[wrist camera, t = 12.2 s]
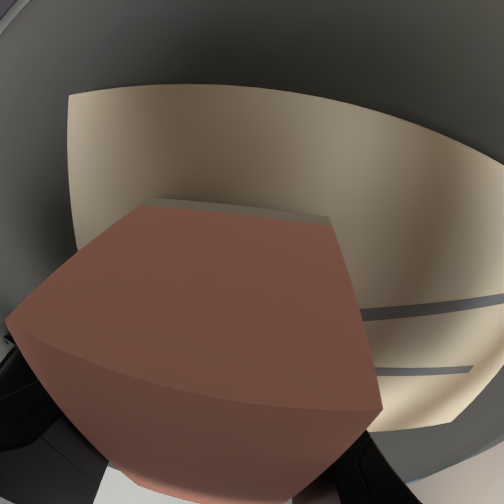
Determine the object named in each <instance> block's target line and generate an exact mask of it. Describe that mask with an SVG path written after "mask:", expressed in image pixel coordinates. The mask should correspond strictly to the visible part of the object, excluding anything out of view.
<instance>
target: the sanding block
mask: <svg viewBox="0 0 504 504" xmlns="http://www.w3.org/2000/svg"><path fill="white" fill-rule="evenodd" d="M4 322H5V324H6V326H7V328H8V330H9V332H10V334H11V335H12V337H13V339H14V341H15V343H16V344H17V346H18V348H19V350H20V351H21V353H22V355H23V356H24V358H25V360H26V361H27V363H28V364H29V366H30V367H31V369H32V371H33V372H34V374H35V375H36V377H37V378H38V379H39V381H40V382H41V384H42V385H43V387H44V388H45V389H46V391H47V392H48V393H49V395H50V396H51V397H52V399H53V400H54V401H55V403H56V404H57V405H58V406H59V408H60V409H61V410H62V411H63V413H64V414H65V415H66V416H67V417H68V419H69V420H70V421H71V422H72V423H73V424H74V425H75V427H76V428H77V429H78V430H79V431H80V432H81V433H82V434H83V435H84V436H85V437H86V439H87V440H88V441H89V442H90V443H91V444H92V445H93V446H94V447H95V448H96V449H97V450H98V451H99V452H100V453H101V454H102V455H103V456H104V457H106V458H107V459H108V460H109V461H110V462H111V463H112V464H113V465H114V466H115V467H117V468H118V469H119V470H120V471H121V472H122V473H123V474H125V475H126V476H127V477H128V478H129V479H131V480H132V481H133V482H134V483H136V484H137V485H138V486H141V487H144V488H147V489H150V490H152V491H156V492H159V493H162V494H165V495H169V496H172V497H176V498H179V499H183V500H188V501H191V502H195V503H200V504H284V503H286V502H287V501H288V500H290V499H291V498H292V497H294V496H295V495H296V494H298V493H299V492H300V491H301V490H303V489H304V488H305V487H306V486H308V485H309V484H310V483H311V482H312V481H314V480H315V479H316V478H317V477H318V476H319V475H320V474H322V473H323V472H324V471H325V470H326V469H327V468H328V467H329V466H330V465H332V464H333V463H334V462H335V461H336V460H337V459H338V458H339V457H340V456H341V455H342V454H343V453H344V452H345V451H346V450H347V449H348V448H349V447H350V446H351V445H352V444H353V443H354V442H355V441H356V440H357V439H358V438H359V437H360V436H361V434H362V433H363V432H364V431H365V430H366V429H367V428H368V427H369V426H370V424H371V423H372V422H373V421H374V420H375V419H376V417H377V416H378V415H379V414H380V413H381V411H382V410H383V405H382V400H381V395H380V390H379V385H378V380H377V376H376V371H375V367H374V363H373V359H372V354H371V350H370V346H369V342H368V339H367V335H366V331H365V327H364V323H363V320H362V316H361V313H360V309H359V306H358V302H357V299H356V296H355V292H354V289H353V286H352V283H351V279H350V276H349V273H348V270H347V267H346V264H345V261H344V258H343V255H342V252H341V249H340V246H339V243H338V240H337V238H336V235H335V232H334V229H333V226H332V224H331V221H330V218H329V217H325V216H319V215H311V214H304V213H297V212H289V211H282V210H274V209H265V208H257V207H248V206H239V205H230V204H220V203H210V202H200V201H188V200H176V199H164V198H149V199H148V200H146V201H145V202H143V203H142V204H140V205H139V206H138V207H136V208H135V209H133V210H132V211H131V212H129V213H128V214H126V215H125V216H124V217H122V218H121V219H119V220H118V221H117V222H115V223H114V224H113V225H111V226H110V227H109V228H107V229H106V230H105V231H103V232H102V233H101V234H99V235H98V236H97V237H96V238H94V239H93V240H92V241H90V242H89V243H88V244H87V245H85V246H84V247H83V248H82V249H81V250H79V251H78V252H77V253H76V254H74V255H73V256H72V257H71V258H70V259H68V260H67V261H66V262H65V263H64V264H63V265H61V266H60V267H59V268H58V269H57V270H56V271H54V272H53V273H52V274H51V275H50V276H49V277H48V278H47V279H46V280H44V281H43V282H42V283H41V284H40V285H39V286H38V287H37V288H36V289H35V290H34V291H33V292H31V293H30V294H29V295H28V296H27V297H26V298H25V299H24V300H23V301H22V302H21V303H20V304H19V305H18V306H17V307H16V308H15V309H14V310H13V311H12V312H11V313H10V314H9V315H8V316H7V317H6V318H5V319H4Z"/></svg>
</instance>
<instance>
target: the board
mask: <svg viewBox="0 0 504 504" xmlns="http://www.w3.org/2000/svg"><path fill="white" fill-rule="evenodd" d="M67 151H68V176H69V189H70V200H71V209H72V217H73V225H74V232H75V238H76V244H77V250H78V251H79V250H81V249H82V248H83V247H84V246H85V245H87V244H88V243H89V242H90V241H92V240H93V239H94V238H96V237H97V236H98V235H99V234H101V233H102V232H103V231H105V230H106V229H107V228H109V227H110V226H111V225H113V224H114V223H115V222H117V221H118V220H119V219H121V218H122V217H124V216H125V215H126V214H128V213H129V212H131V211H132V210H133V209H135V208H136V207H138V206H139V205H140V204H142V203H143V202H145V201H146V200H148V199H149V198H164V199H176V200H188V201H200V202H210V203H220V204H230V205H239V206H248V207H257V208H265V209H274V210H282V211H289V212H297V213H304V214H311V215H319V216H325V217H329V218H330V221H331V224H332V226H333V229H334V232H335V235H336V238H337V240H338V243H339V246H340V249H341V252H342V255H343V258H344V261H345V264H346V267H347V270H348V273H349V276H350V279H351V283H352V286H353V289H354V292H355V296H356V299H357V302H358V306H359V309H360V313H361V316H362V320H363V323H364V327H365V331H366V335H367V339H368V342H369V346H370V350H371V354H372V359H373V363H374V367H375V371H376V376H377V380H378V385H379V390H380V395H381V400H382V405H383V410H382V411H381V413H380V414H379V415H378V416H377V417H376V419H375V420H374V421H373V422H372V423H371V424H370V426H369V427H368V428H367V431H368V432H377V431H391V430H401V429H410V428H418V427H425V426H432V425H438V424H443V423H448V422H451V421H452V420H454V419H455V418H456V417H457V416H458V415H459V414H460V413H461V412H462V411H463V410H464V409H465V408H466V407H467V406H468V405H469V404H470V403H471V402H472V401H473V400H474V399H475V398H476V396H477V395H478V394H479V393H480V392H481V391H482V390H483V389H484V388H485V387H486V385H487V384H488V383H489V382H490V381H491V380H492V378H493V377H494V376H495V375H496V373H497V372H498V371H499V370H500V368H501V367H502V366H503V365H504V165H502V164H500V163H499V162H497V161H495V160H493V159H491V158H490V157H488V156H486V155H484V154H482V153H480V152H478V151H476V150H474V149H472V148H470V147H468V146H466V145H464V144H462V143H460V142H458V141H455V140H453V139H451V138H449V137H446V136H444V135H442V134H439V133H437V132H434V131H432V130H429V129H427V128H424V127H422V126H419V125H416V124H414V123H411V122H408V121H405V120H402V119H399V118H396V117H393V116H390V115H387V114H384V113H381V112H377V111H374V110H370V109H367V108H363V107H360V106H356V105H352V104H348V103H344V102H339V101H335V100H331V99H326V98H321V97H316V96H311V95H305V94H300V93H293V92H287V91H280V90H273V89H264V88H255V87H245V86H231V85H212V84H163V85H144V86H131V87H121V88H112V89H104V90H97V91H91V92H85V93H79V94H73V95H69V103H68V127H67Z"/></svg>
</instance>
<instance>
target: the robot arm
mask: <svg viewBox="0 0 504 504" xmlns="http://www.w3.org/2000/svg"><path fill="white" fill-rule="evenodd" d="M3 340H4V342H5V343H6V345H7V347H8V349H9V353H8V354H7V355H6V356H5V358H4V359H3V360H2V361H1V363H0V504H93V502H94V499H95V497H96V494H97V491H98V489H99V486H100V483H101V480H102V478H103V475H104V473H105V470H106V468H107V465H108V463H109V460H108V459H107V458H106V457H104V456H103V455H102V454H101V453H100V452H99V451H98V450H97V449H96V448H95V447H94V446H93V445H92V444H91V443H90V442H89V441H88V440H87V439H86V437H85V436H84V435H83V434H82V433H81V432H80V431H79V430H78V429H77V428H76V427H75V425H74V424H73V423H72V422H71V421H70V420H69V419H68V417H67V416H66V415H65V414H64V413H63V411H62V410H61V409H60V408H59V406H58V405H57V404H56V403H55V401H54V400H53V399H52V397H51V396H50V395H49V393H48V392H47V391H46V389H45V388H44V387H43V385H42V384H41V382H40V381H39V379H38V378H37V377H36V375H35V374H34V372H33V371H32V369H31V367H30V366H29V364H28V363H27V361H26V360H25V358H24V356H23V355H22V353H21V351H20V350H19V348H18V346H17V344H16V343H15V341H14V339H13V338H11V337H9V336H8V335H5V336H4V337H3ZM370 437H371V435H370V434H369V432H368V431H367V429H366V430H365V431H364V432H363V433H362V434H361V436H360V437H359V438H358V439H357V440H356V441H355V442H354V443H353V444H352V445H351V446H350V447H349V448H348V449H347V450H346V451H345V452H344V453H343V454H342V455H341V456H340V457H339V458H338V459H337V460H336V461H335V462H334V463H333V464H332V465H330V466H329V467H328V468H327V469H326V470H325V471H324V472H323V473H322V474H320V475H319V476H318V477H317V478H316V479H315V480H314V481H312V482H311V483H310V484H309V485H308V486H306V487H305V488H304V489H303V490H301V491H300V492H299V493H298V494H296V495H295V496H294V497H292V504H422V503H421V502H420V501H419V500H418V499H417V498H416V496H415V495H414V494H413V493H412V492H411V490H410V489H409V488H408V487H407V486H406V484H405V483H404V482H403V481H402V479H401V478H400V477H399V476H398V475H397V473H396V472H395V471H394V469H393V468H392V467H391V466H390V464H389V463H388V462H387V460H386V459H385V457H384V456H383V454H382V453H381V451H380V450H379V448H378V447H377V445H376V443H375V442H374V440H373V438H370Z"/></svg>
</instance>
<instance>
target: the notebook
mask: <svg viewBox="0 0 504 504" xmlns="http://www.w3.org/2000/svg"><path fill="white" fill-rule="evenodd" d="M29 1H30V0H0V34H1V33H2V32H3V31H4V29H5V28H6V27H7V26H8V24H9V23H10V22H11V21H12V20H13V19H14V17H15V16H16V15H17V14H18V13H19V12H20V11H21V10H22V8H23V7H24V6H25V5H26V4H27V3H28V2H29Z"/></svg>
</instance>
